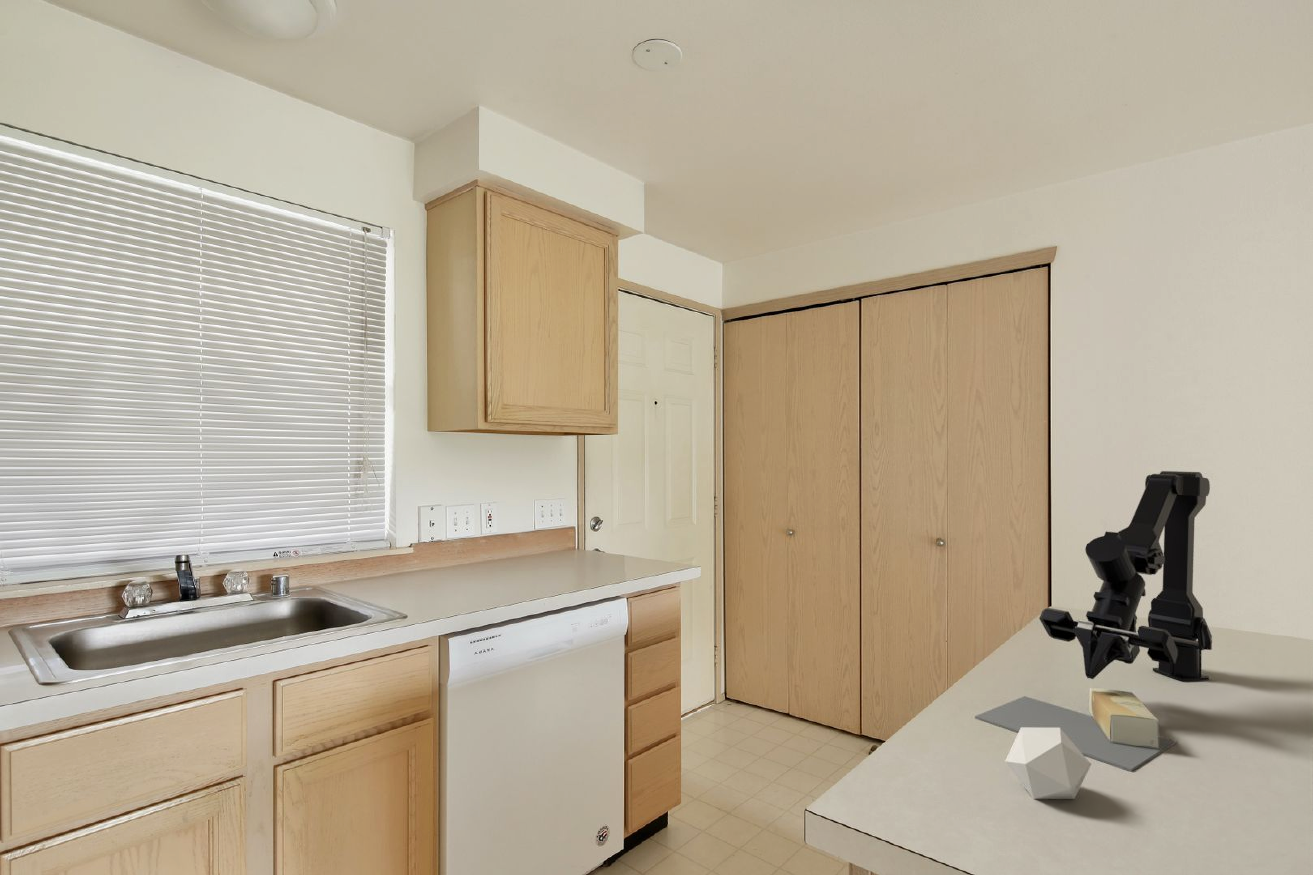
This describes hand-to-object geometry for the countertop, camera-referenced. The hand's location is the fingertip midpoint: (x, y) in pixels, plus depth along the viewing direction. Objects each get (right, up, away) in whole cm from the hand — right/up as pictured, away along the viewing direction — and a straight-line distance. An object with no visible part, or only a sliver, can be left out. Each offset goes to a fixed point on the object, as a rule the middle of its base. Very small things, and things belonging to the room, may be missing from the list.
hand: (1089, 677), depth 109 cm
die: (-20, -7, -23) cm, 31 cm away
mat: (-5, -7, -4) cm, 9 cm away
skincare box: (+4, -5, +2) cm, 7 cm away
